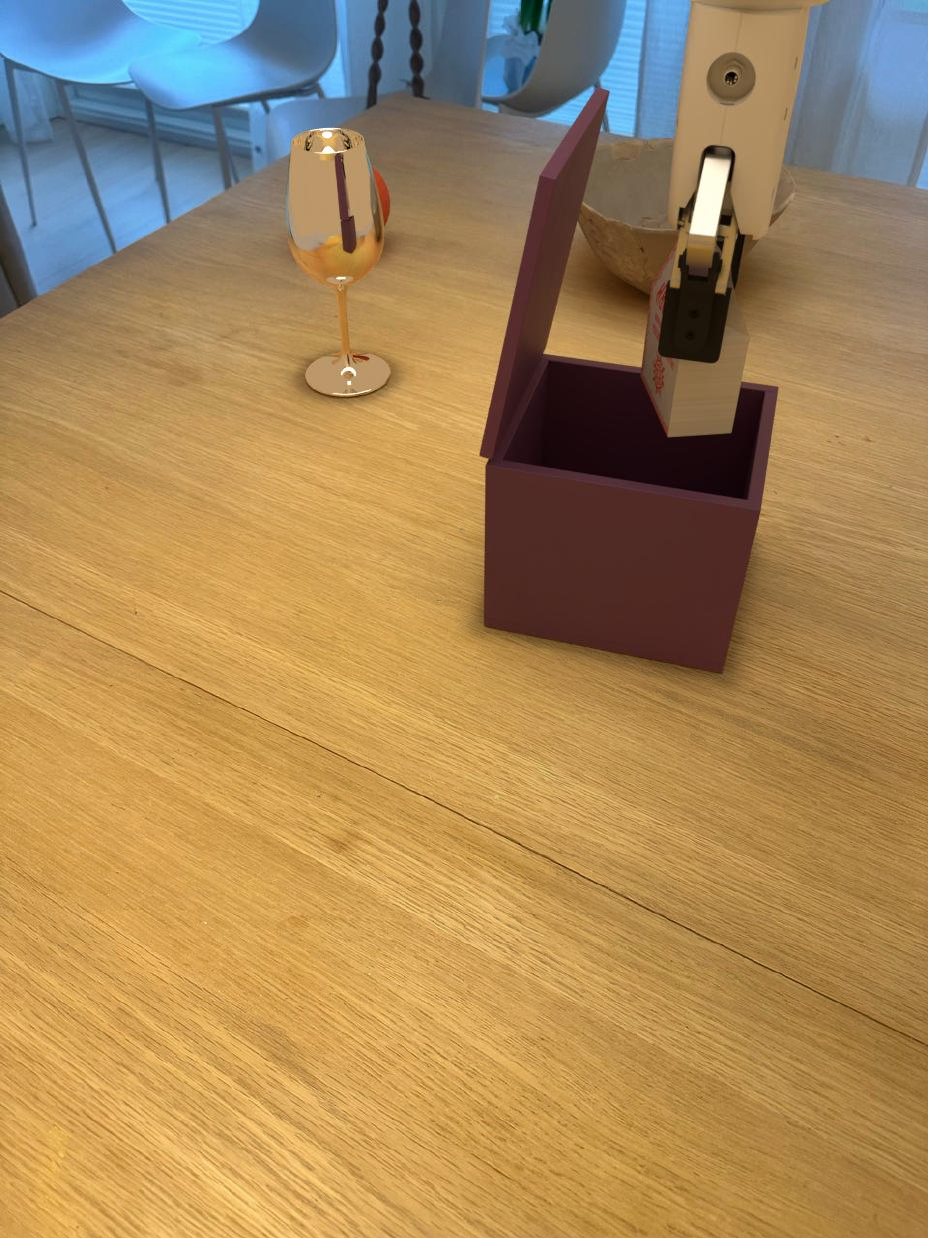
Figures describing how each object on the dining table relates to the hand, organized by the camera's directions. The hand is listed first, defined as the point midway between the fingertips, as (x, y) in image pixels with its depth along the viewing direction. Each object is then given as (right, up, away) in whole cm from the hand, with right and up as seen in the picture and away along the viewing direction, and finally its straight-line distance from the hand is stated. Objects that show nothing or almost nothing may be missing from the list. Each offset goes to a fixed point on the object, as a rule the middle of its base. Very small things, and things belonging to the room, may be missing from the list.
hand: (698, 319), depth 58 cm
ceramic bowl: (+7, +18, +49) cm, 52 cm away
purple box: (-2, -14, +14) cm, 20 cm away
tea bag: (0, -4, +4) cm, 6 cm away
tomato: (-26, +23, +54) cm, 65 cm away
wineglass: (-23, +5, +35) cm, 42 cm away
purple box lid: (-8, +3, +1) cm, 9 cm away
